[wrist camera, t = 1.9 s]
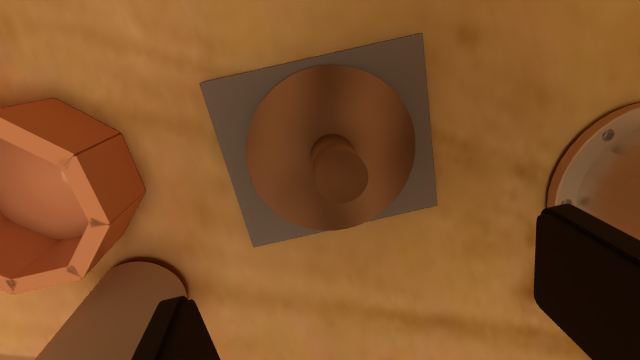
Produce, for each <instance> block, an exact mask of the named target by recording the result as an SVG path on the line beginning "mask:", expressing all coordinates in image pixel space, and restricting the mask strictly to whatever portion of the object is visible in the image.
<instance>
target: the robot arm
mask: <svg viewBox="0 0 640 360" xmlns="http://www.w3.org/2000/svg"><path fill="white" fill-rule="evenodd" d="M534 298H535V300H536V303H537V304H538V306H539V307H540V308H541V309H542V310H543V311H544V312H545V313H546V314H547V315H548V316H549V317H550V318H551V319H552V320H553V321H554V322H555V323H556V324H557V325H558V326H559V327H560V328H561V329H562V330H563V331H564V332H565V333H566V334H567V335H568V336H569V337H570V338H571V339H572V340H573V341H574V342H575V343H576V344H577V345H578V346H579V347H580V348H581V349H582V350H583V351H584V352H585V353H586V354H587V355H588V356H589V357H590V358H591V359H592V360H640V103H637V104H633V105H629V106H626V107H624V108H621V109H619V110H616V111H614V112H612V113H610V114H609V115H607V116H605V117H604V118H602V119H600V120H599V121H597V122H596V123H594V124H593V125H592V126H591V127H590V128H588V129H587V130H586V131H585V132H584V133H582V134H581V135H580V137H579V138H578V139H577V140H576V141H575V142H574V143H573V144H572V145H571V146H570V148H569V149H568V150H567V152H566V153H565V155H564V156H563V158H562V159H561V161H560V162H559V164H558V167H557V169H556V171H555V173H554V175H553V177H552V181H551V184H550V187H549V191H548V201H547V208H545V209H544V210H543V211H542V212H541V215H540V216H538V218H537V223H536V248H535V274H534ZM131 360H220V358H219V355H218V353H217V351H216V349H215V346H214V344H213V342H212V340H211V337H210V335H209V333H208V330H207V328H206V326H205V324H204V321H203V319H202V317H201V315H200V312H199V310H198V308H197V305H196V303H195V302H194V300H192V299H191V300H188V299H187V298H186V297H185V296H179V297H175V298H170V299H166V300H162V301H160V302H159V304H158V305H157V307H156V309H155V312H154V314H153V316H152V318H151V320H150V322H149V324H148V326H147V328H146V330H145V332H144V334H143V336H142V338H141V340H140V342H139V344H138V346H137V348H136V350H135V352H134V354H133V356H132V358H131Z"/></svg>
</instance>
